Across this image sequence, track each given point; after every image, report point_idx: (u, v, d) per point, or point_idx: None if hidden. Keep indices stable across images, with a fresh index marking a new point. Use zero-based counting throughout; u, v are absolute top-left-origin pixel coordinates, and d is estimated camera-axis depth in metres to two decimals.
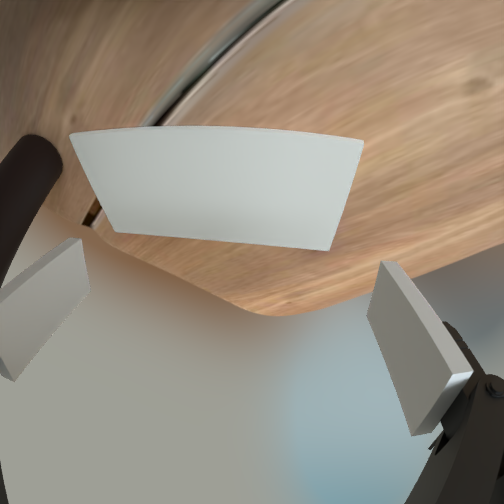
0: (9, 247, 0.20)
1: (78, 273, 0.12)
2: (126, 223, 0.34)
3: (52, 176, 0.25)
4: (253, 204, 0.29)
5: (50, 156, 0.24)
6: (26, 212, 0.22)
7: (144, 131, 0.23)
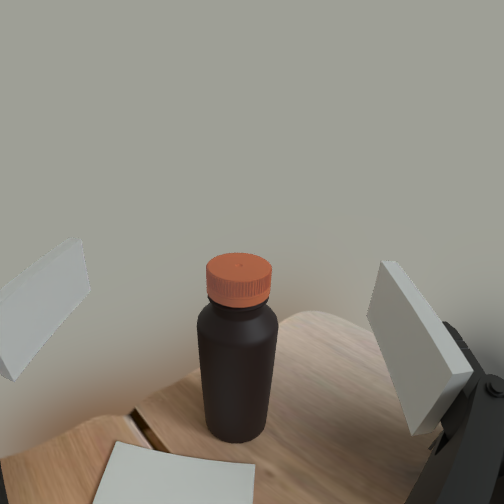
0: (225, 377, 0.23)
1: (78, 273, 0.12)
2: (126, 462, 0.23)
3: (224, 432, 0.27)
4: None
5: (241, 438, 0.27)
6: (227, 404, 0.25)
7: None
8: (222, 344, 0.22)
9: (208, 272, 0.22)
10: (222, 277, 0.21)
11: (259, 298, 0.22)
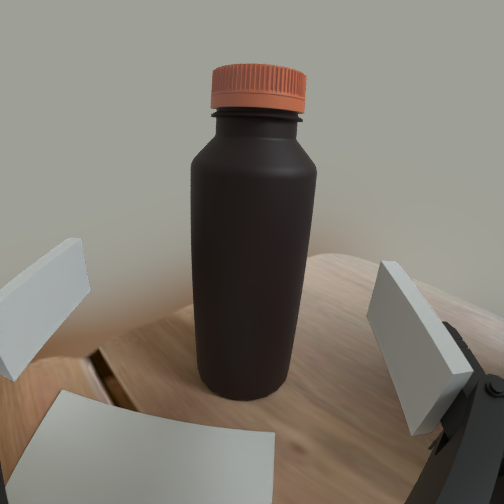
0: (231, 247, 0.14)
1: (78, 273, 0.12)
2: (69, 421, 0.15)
3: (225, 377, 0.18)
4: None
5: (252, 390, 0.18)
6: (233, 313, 0.16)
7: None
8: (231, 170, 0.13)
9: (216, 70, 0.13)
10: (237, 64, 0.12)
11: (291, 100, 0.13)
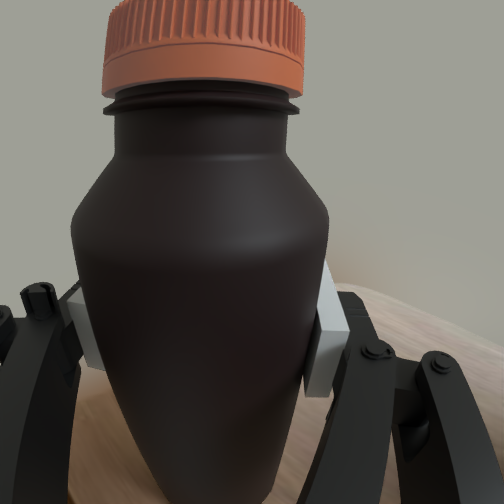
0: (149, 394, 0.06)
1: None
2: None
3: None
4: None
5: None
6: (177, 464, 0.08)
7: None
8: (115, 251, 0.05)
9: None
10: None
11: (270, 60, 0.05)
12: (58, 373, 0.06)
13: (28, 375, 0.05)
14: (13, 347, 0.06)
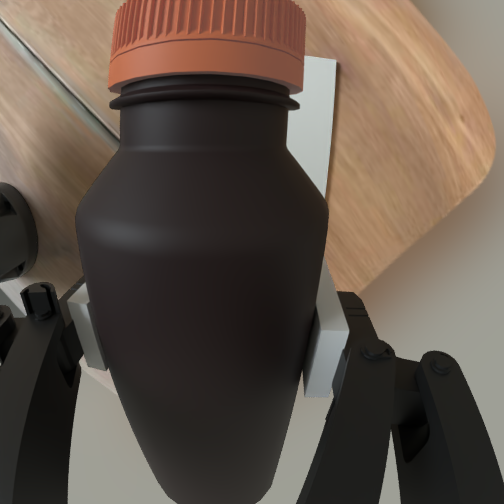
0: (151, 383, 0.06)
1: None
2: None
3: (184, 499, 0.10)
4: None
5: None
6: (177, 456, 0.08)
7: None
8: (121, 237, 0.05)
9: None
10: None
11: (272, 56, 0.05)
12: (58, 373, 0.06)
13: (29, 375, 0.05)
14: (13, 347, 0.06)
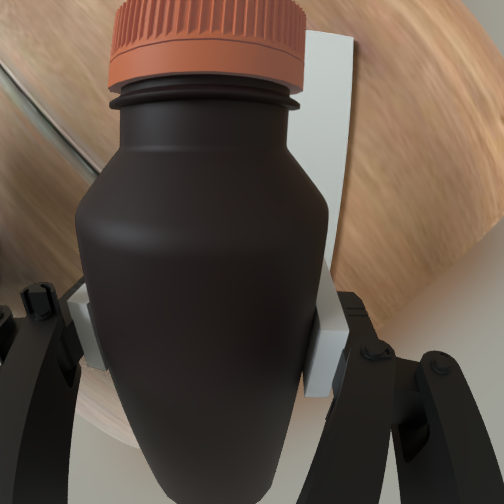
0: (151, 384, 0.06)
1: None
2: None
3: (184, 499, 0.10)
4: None
5: None
6: (176, 457, 0.08)
7: None
8: (121, 238, 0.05)
9: None
10: None
11: (273, 56, 0.05)
12: (58, 373, 0.06)
13: (29, 375, 0.05)
14: (13, 347, 0.06)
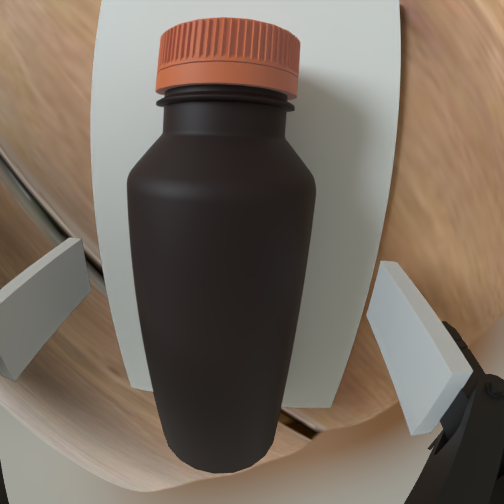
0: (189, 311, 0.09)
1: (78, 273, 0.12)
2: (310, 386, 0.19)
3: (198, 454, 0.12)
4: None
5: (234, 464, 0.13)
6: (200, 393, 0.10)
7: (110, 298, 0.17)
8: (182, 190, 0.08)
9: (164, 35, 0.08)
10: (195, 20, 0.07)
11: (281, 75, 0.08)
12: None
13: None
14: None
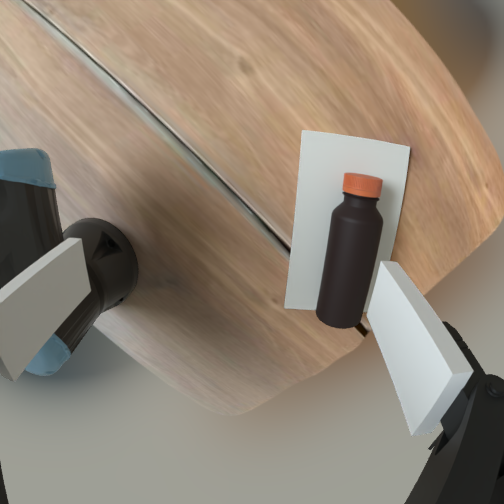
0: (359, 252, 0.35)
1: (78, 273, 0.12)
2: (368, 299, 0.45)
3: (344, 315, 0.38)
4: None
5: (354, 320, 0.39)
6: (355, 280, 0.36)
7: (291, 259, 0.43)
8: (363, 222, 0.34)
9: (352, 177, 0.33)
10: (364, 177, 0.33)
11: (380, 193, 0.34)
12: None
13: None
14: None
